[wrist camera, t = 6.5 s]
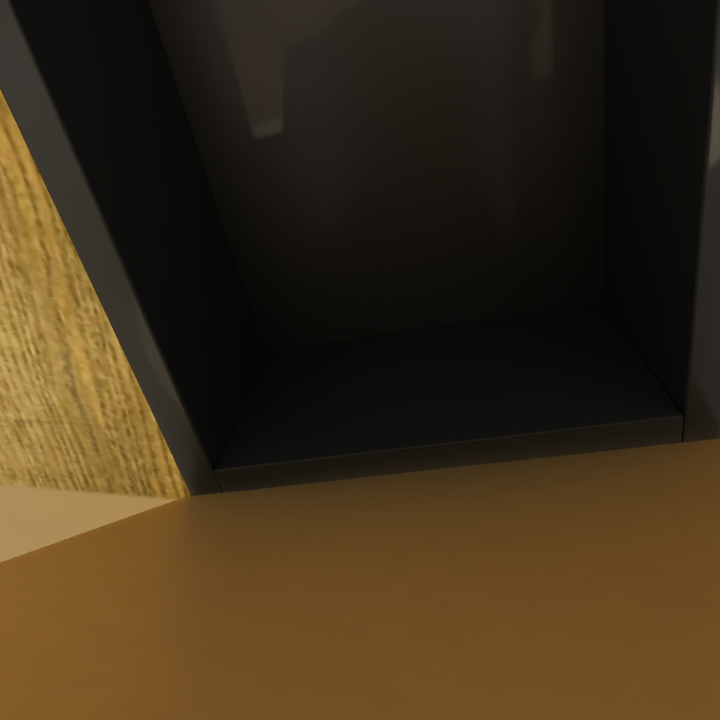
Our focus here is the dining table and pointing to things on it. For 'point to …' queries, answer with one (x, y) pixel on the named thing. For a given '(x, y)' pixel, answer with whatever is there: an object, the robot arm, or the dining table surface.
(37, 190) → the dining table surface
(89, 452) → the dining table surface
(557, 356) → the box
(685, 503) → the lid
